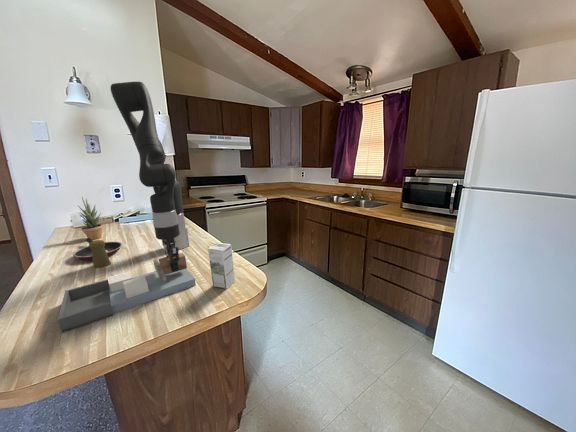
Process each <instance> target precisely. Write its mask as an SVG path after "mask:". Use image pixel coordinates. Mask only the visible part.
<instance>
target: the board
mask: <svg viewBox="0 0 576 432" xmlns="http://www.w3.org/2000/svg"><path fill="white" fill-rule="evenodd" d="M143 276H145V279H146V281H147V285H148V290H149V292H146V293H143V294H140V295H137V296H133V297H130V298H126V293H125V289H121V290H118V291H115V292H111V288H110V283H109V290H110V302H111V309H112V313H113V314H115V313H119V312H121V311H124V310H128V309H130V308H131V309H132V308H133V307H136V306H139V305H142V304H144V303H148V302H151V301H153V300H157V299H160V298H162V297H166V296H168V295H169V296H170V295H171V294H175V293H177V292H179V291H183V290H186V289H188V288H191V287H194V286H196V278H195V277H194V275H192V273H191V272H190V271H189V270H188V268H187V269H183V270H180V271H177V272H173V273H170V274H166V275H165V276H166V282H163V283H162V281H161V279H160V277H159V275H158V273H157V271H156V270H155V271H152V272H148V273H144V274H141V275H138V276H133V277H132V279H136V278H139V277H143Z"/></svg>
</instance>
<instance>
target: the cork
mask: <svg viewBox="0 0 576 432" xmlns="http://www.w3.org/2000/svg"><path fill="white" fill-rule="evenodd" d="M88 246H89V247H90V249H92V256H93V260H92V266H93V269H101V268H105V267H108V266H110V265H111V264H112V262H111V260H110V258H109V257H110V256H109V257H108V255H107V253H106V250H105V248H104V247H105V241H104V240H102V239H96V240H93V242H91V243H90V244H89V243H88Z"/></svg>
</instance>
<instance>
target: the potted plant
mask: <svg viewBox="0 0 576 432" xmlns="http://www.w3.org/2000/svg"><path fill="white" fill-rule="evenodd" d="M81 199H82V202H83V205H84V208H85V209H83V208H82V207H81V206H80V205H77V207H78V208H79V210H80V211H79V217H81V218H82V220H81V221H82V223H83V225H85V226H83V227H81V231H82V233H84V234H85V236H86V239H87V238H90V239H92V240H93V241H96V240H100V239H101V238H102V237H103V236H102V234H103V228H104V226H103V224H102V223H98V222H99V221H100V217H101V215H102V214H101V212H100V213H99V214H98V210H96V205H94V206H93V209H91V205H90V204H89V202H88V199H87V198H85V200H84V198H83V196H81ZM81 211H82V212H81ZM97 214H98V215H97Z"/></svg>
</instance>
